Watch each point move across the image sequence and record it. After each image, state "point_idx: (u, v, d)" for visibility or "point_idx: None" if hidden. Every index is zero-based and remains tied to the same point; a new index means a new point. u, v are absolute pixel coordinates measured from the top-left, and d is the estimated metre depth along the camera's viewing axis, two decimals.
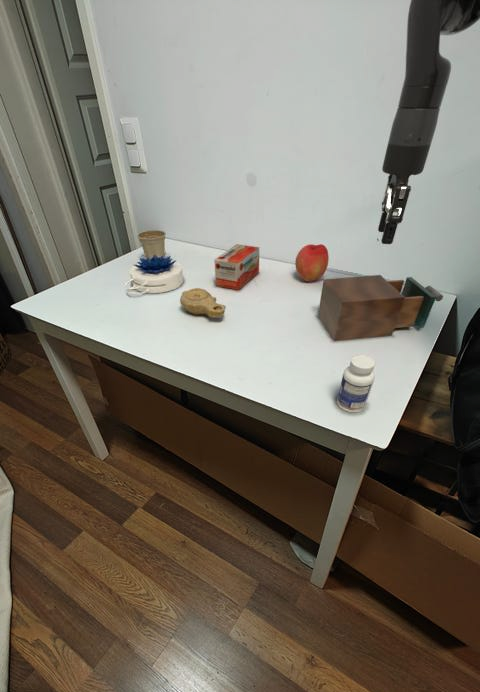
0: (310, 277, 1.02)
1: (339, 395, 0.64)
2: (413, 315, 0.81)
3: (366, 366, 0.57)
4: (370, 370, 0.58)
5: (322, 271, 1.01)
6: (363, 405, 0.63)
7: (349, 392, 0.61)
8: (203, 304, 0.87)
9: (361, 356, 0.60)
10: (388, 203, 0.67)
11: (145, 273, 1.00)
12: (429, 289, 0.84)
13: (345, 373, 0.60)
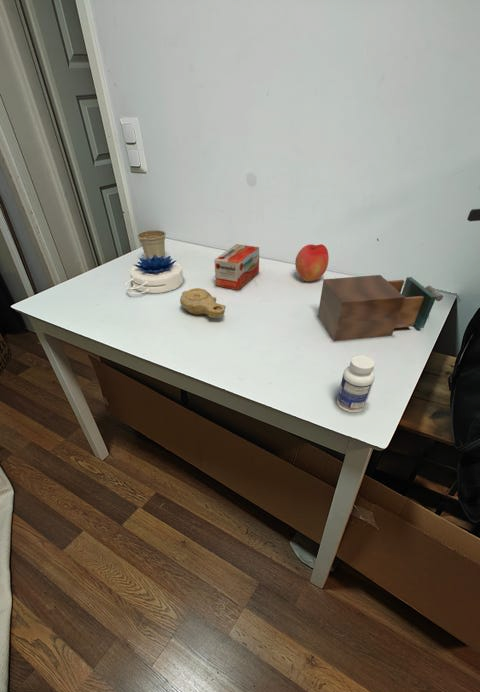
0: (310, 277, 1.02)
1: (339, 395, 0.64)
2: (413, 315, 0.81)
3: (366, 366, 0.57)
4: (370, 370, 0.58)
5: (322, 271, 1.01)
6: (363, 405, 0.63)
7: (349, 392, 0.61)
8: (203, 304, 0.87)
9: (361, 356, 0.60)
10: None
11: (145, 273, 1.00)
12: (429, 289, 0.84)
13: (345, 373, 0.60)
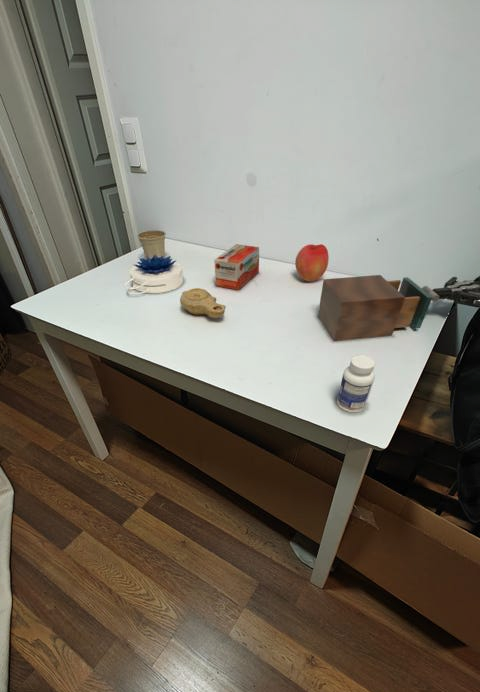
0: (310, 277, 1.02)
1: (339, 395, 0.64)
2: (409, 315, 0.81)
3: (366, 366, 0.57)
4: (370, 370, 0.58)
5: (322, 271, 1.01)
6: (363, 405, 0.63)
7: (349, 392, 0.61)
8: (203, 304, 0.87)
9: (361, 356, 0.60)
10: None
11: (145, 273, 1.00)
12: (426, 289, 0.84)
13: (345, 373, 0.60)
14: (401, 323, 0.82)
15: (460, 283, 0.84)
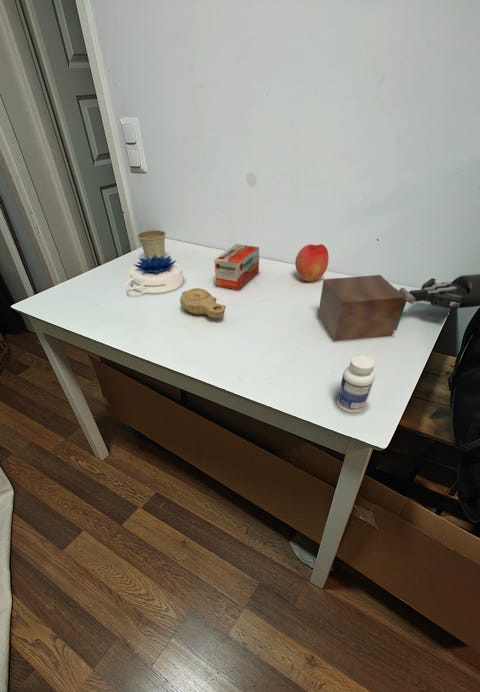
0: (310, 277, 1.02)
1: (339, 395, 0.64)
2: None
3: (366, 366, 0.57)
4: (370, 370, 0.58)
5: (322, 271, 1.01)
6: (363, 405, 0.63)
7: (349, 392, 0.61)
8: (203, 304, 0.87)
9: (361, 356, 0.60)
10: None
11: (145, 273, 1.00)
12: (402, 291, 0.83)
13: (345, 373, 0.60)
14: None
15: (437, 285, 0.83)
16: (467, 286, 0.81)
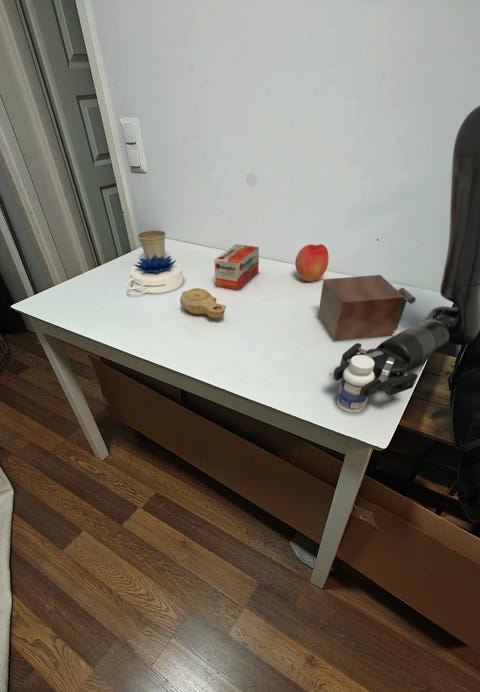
0: (310, 277, 1.02)
1: (339, 395, 0.64)
2: None
3: (366, 366, 0.57)
4: (370, 370, 0.58)
5: (322, 271, 1.01)
6: (363, 405, 0.63)
7: (349, 392, 0.61)
8: (203, 304, 0.87)
9: (361, 356, 0.60)
10: None
11: (145, 273, 1.00)
12: (402, 291, 0.83)
13: (345, 373, 0.60)
14: None
15: None
16: (404, 354, 0.62)
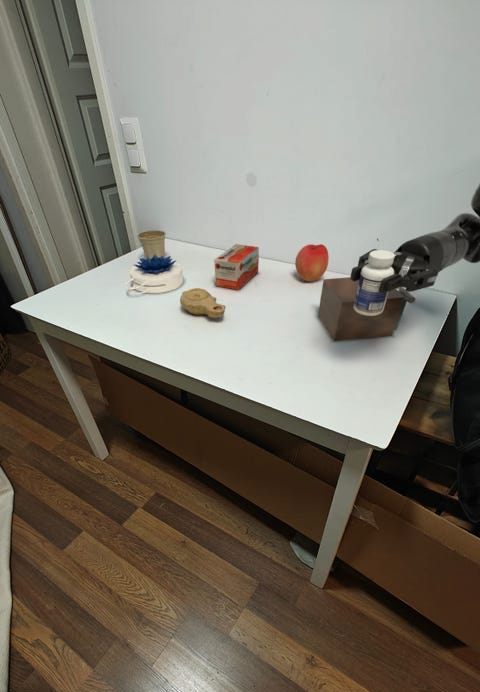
0: (310, 277, 1.02)
1: (356, 298, 0.62)
2: None
3: (386, 257, 0.55)
4: (390, 262, 0.56)
5: (322, 271, 1.01)
6: (381, 307, 0.61)
7: (367, 291, 0.59)
8: (203, 304, 0.87)
9: (380, 250, 0.57)
10: None
11: (145, 273, 1.00)
12: (402, 291, 0.83)
13: (363, 270, 0.58)
14: None
15: None
16: (424, 252, 0.60)
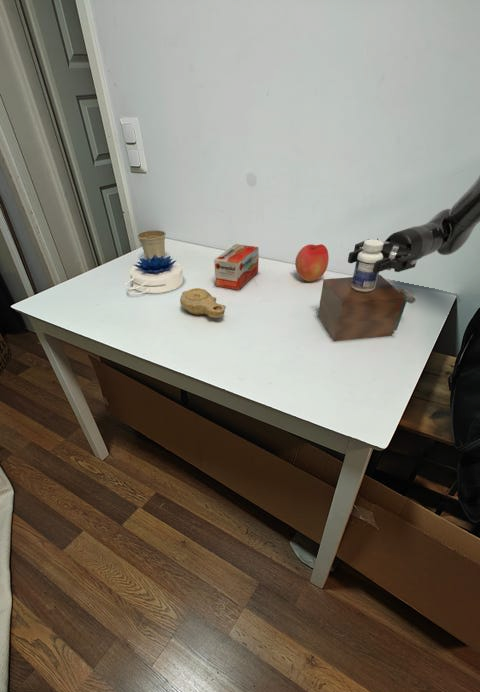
0: (310, 277, 1.02)
1: (353, 278, 0.78)
2: None
3: (377, 244, 0.71)
4: (379, 248, 0.72)
5: (322, 271, 1.01)
6: (373, 285, 0.77)
7: (362, 271, 0.75)
8: (203, 304, 0.87)
9: (372, 240, 0.73)
10: None
11: (145, 273, 1.00)
12: (402, 291, 0.83)
13: (359, 254, 0.74)
14: None
15: None
16: (407, 242, 0.76)
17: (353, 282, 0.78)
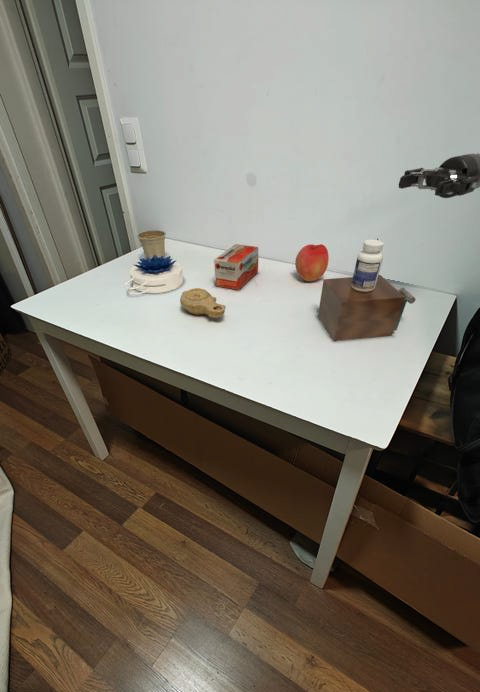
0: (310, 277, 1.02)
1: (353, 278, 0.78)
2: None
3: (377, 244, 0.71)
4: (379, 248, 0.72)
5: (322, 271, 1.01)
6: (373, 285, 0.77)
7: (362, 271, 0.75)
8: (203, 304, 0.87)
9: (372, 240, 0.74)
10: None
11: (145, 273, 1.00)
12: (402, 291, 0.83)
13: (359, 254, 0.74)
14: None
15: (427, 169, 0.74)
16: (463, 166, 0.73)
17: (353, 282, 0.78)
